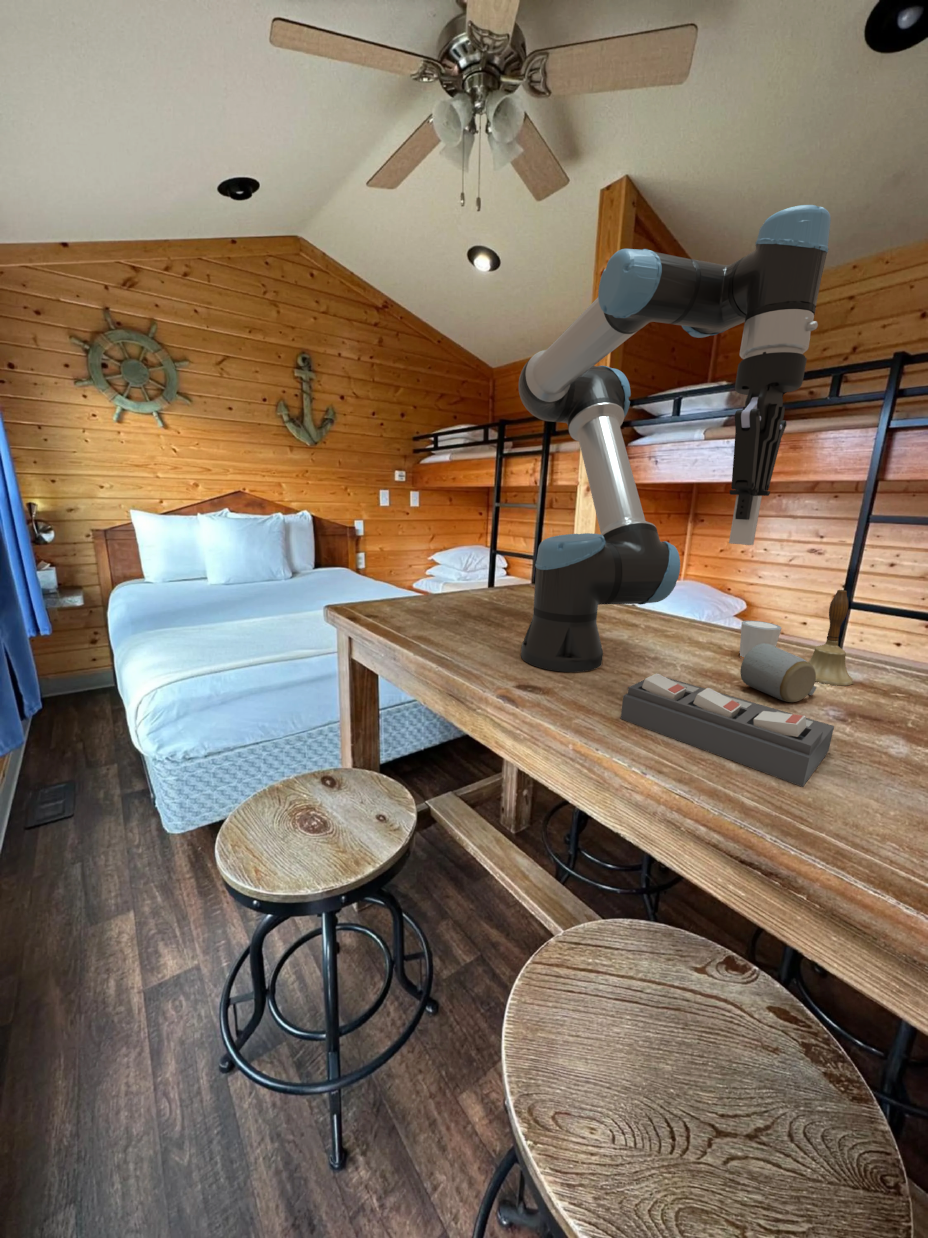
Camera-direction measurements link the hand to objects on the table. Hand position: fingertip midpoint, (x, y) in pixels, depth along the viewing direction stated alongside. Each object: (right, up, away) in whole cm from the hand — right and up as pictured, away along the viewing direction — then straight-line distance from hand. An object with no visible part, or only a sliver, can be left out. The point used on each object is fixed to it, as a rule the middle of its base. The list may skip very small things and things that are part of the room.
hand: (741, 543), depth 69 cm
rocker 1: (-11, -20, -1) cm, 23 cm away
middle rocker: (-6, -21, -6) cm, 23 cm away
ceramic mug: (+13, -23, +12) cm, 29 cm away
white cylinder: (+20, -18, +30) cm, 41 cm away
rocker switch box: (-5, -26, -3) cm, 26 cm away
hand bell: (+26, -21, +21) cm, 40 cm away
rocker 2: (-1, -23, -11) cm, 25 cm away
